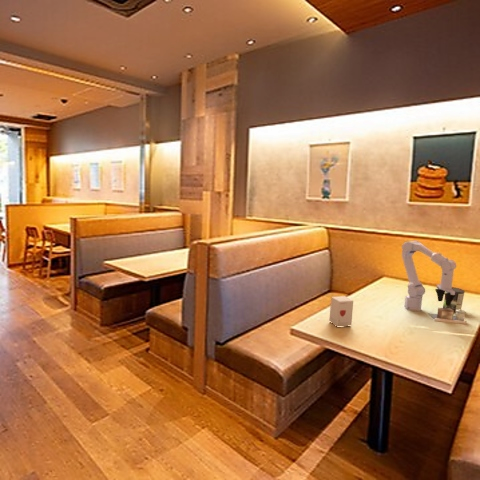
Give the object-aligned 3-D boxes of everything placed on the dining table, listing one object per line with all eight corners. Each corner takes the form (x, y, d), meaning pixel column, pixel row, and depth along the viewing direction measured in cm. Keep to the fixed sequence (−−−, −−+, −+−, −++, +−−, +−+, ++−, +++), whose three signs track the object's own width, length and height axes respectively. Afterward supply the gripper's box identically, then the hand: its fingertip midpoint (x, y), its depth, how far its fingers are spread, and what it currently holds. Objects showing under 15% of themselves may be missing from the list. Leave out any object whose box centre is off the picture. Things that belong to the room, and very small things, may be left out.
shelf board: (434, 322, 209) (435, 318, 209) (428, 314, 222) (428, 311, 222) (466, 325, 206) (466, 321, 206) (457, 317, 219) (458, 314, 218)
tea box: (440, 320, 211) (441, 310, 210) (437, 317, 215) (438, 307, 214) (452, 320, 210) (453, 310, 209) (449, 318, 214) (450, 308, 213)
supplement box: (337, 328, 196) (339, 301, 194) (328, 322, 205) (330, 296, 203) (351, 326, 199) (353, 300, 197) (343, 321, 207) (344, 295, 205)
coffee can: (446, 312, 226) (450, 291, 224) (439, 307, 236) (443, 286, 234) (463, 314, 225) (467, 292, 222) (456, 308, 235) (460, 287, 232)
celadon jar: (456, 321, 208) (457, 310, 208) (453, 318, 213) (454, 307, 212) (465, 322, 208) (466, 311, 207) (462, 319, 212) (463, 308, 211)
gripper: (432, 277, 219) (430, 299, 221) (447, 284, 205) (444, 307, 207) (444, 277, 219) (441, 299, 221) (459, 284, 205) (456, 307, 207)
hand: (443, 303), depth 214 cm, fingers open, 7 cm apart
